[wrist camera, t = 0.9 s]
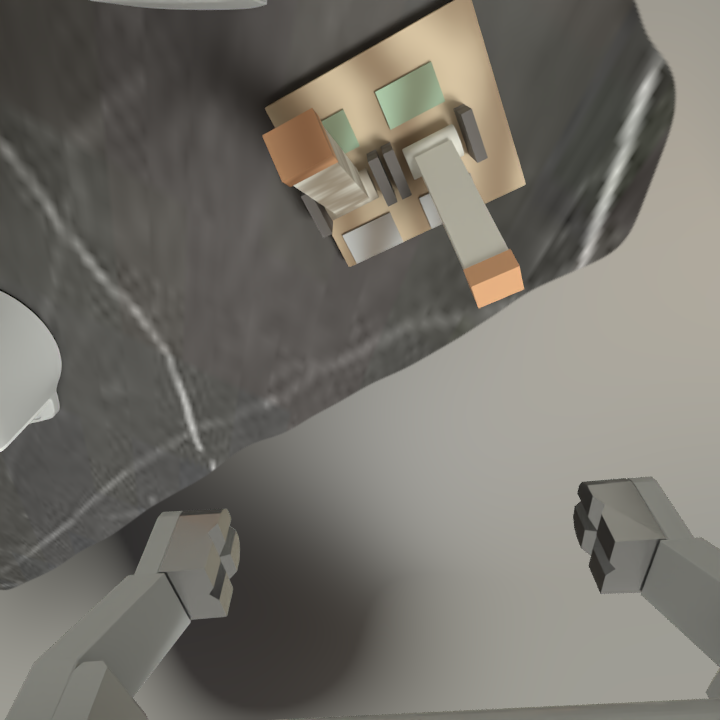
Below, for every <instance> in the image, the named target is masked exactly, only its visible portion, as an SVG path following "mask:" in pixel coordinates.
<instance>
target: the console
mask: <svg viewBox="0 0 720 720" xmlns="http://www.w3.org/2000/svg"><path fill="white" fill-rule="evenodd" d="M265 110H266V112H267V114H268V116H269V117H270V119H271V121H272V123H273V125H274V127H275V129H273V130H271V131H269V132H268V133H266V134H264V135H262V136H263V139H264V141H265V143H266V146H267V148H268V150H269V153H270V155H271V157H272V159H273V162H274V164H275V166H276V169H277V171H278V173H279V176H280V178H281V180H282V182H283V183H285V184H287V185H288V186H290V187H292V186H294V187H296V188H297V189H299V190H300V191H302V194H301V198H302V200H303V202H304V204H305V205H306V207H307V209H308V211H309V213H310V215H311V216H312V218H313V220H314V222H315V224H316V226H317V228H318V229H319V231H320V233H321V235H322V237H323V238H325V237H327V236H329V235H331V234H332V236H333V238H334V240H335V241H336V243H337V245H338V247H339V249H340V251H341V253H342V255H343V256H344V258H345V260H346V262H347V264H348V266H349V267H351V266H353V265H355V264H357V263H360V262H362V261H364V260H366V259H368V258H370V257H372V256H375V255H377V254H379V253H381V252H383V251H385V250H387V249H389V248H392V247H394V246H396V245H398V244H400V243H402V242H404V241H406V240H408V239H411V238H413V237H415V236H417V235H419V234H421V233H423V232H425V231H428V230H430V229H432V228H434V227H436V226H439V225H441V224H443V223H442V221H441V219H440V216H439V214H438V212H437V210H436V207H435V205H434V203H433V201H432V198H431V196H430V194H429V192H428V189H427V187H426V185H425V183H424V180H423V178H422V177H420V178H418V179H416V180H414V178H413V175H412V173H411V171H410V168H409V166H408V163H407V161H406V159H405V156H404V154H403V151H402V149H404V148H406V147H407V146H409V145H411V144H413V143H415V142H417V141H419V140H421V139H423V138H425V137H427V136H429V135H431V134H433V133H435V132H437V131H439V130H441V129H443V128H445V127H447V126H448V125H450V124H453V125H454V127H455V129H456V131H457V134H458V136H459V139H460V141H461V144H462V147H463V151H464V156H462V157H460V158H461V159H462V161H463V163H464V165H465V167H466V169H467V171H468V173H469V175H470V177H471V179H472V181H473V182H474V184H475V186H476V188H477V190H478V192H479V194H480V196H481V198H482V200H483V202H484V204H485V203H487V202H490V201H492V200H494V199H496V198H498V197H500V196H502V195H505V194H507V193H509V192H511V191H513V190H515V189H517V188H519V187H522V186H524V185H526V183H525V180H524V176H523V173H522V170H521V166H520V163H519V159H518V156H517V153H516V149H515V146H514V143H513V139H512V136H511V132H510V129H509V126H508V122H507V119H506V115H505V112H504V109H503V105H502V102H501V98H500V95H499V92H498V88H497V85H496V81H495V78H494V75H493V71H492V68H491V65H490V61H489V58H488V54H487V51H486V48H485V44H484V41H483V37H482V34H481V31H480V27H479V24H478V20H477V17H476V14H475V10H474V7H473V4H472V0H452V1H451V2H449V3H447V4H445V5H444V6H442V7H440V8H438V9H437V10H435V11H433V12H431V13H430V14H428V15H426V16H424V17H423V18H421V19H419V20H417V21H416V22H414V23H412V24H410V25H409V26H407V27H405V28H403V29H401V30H400V31H398V32H396V33H394V34H393V35H391V36H389V37H387V38H386V39H384V40H382V41H380V42H379V43H377V44H375V45H373V46H372V47H370V48H368V49H366V50H365V51H363V52H361V53H359V54H358V55H356V56H354V57H352V58H351V59H349V60H347V61H345V62H344V63H342V64H340V65H338V66H337V67H335V68H333V69H331V70H329V71H328V72H326V73H324V74H322V75H321V76H319V77H317V78H315V79H314V80H312V81H310V82H308V83H307V84H305V85H303V86H301V87H300V88H298V89H296V90H294V91H293V92H291V93H289V94H287V95H286V96H284V97H282V98H280V99H279V100H277V101H275V102H273V103H272V104H270V105H268V106H267V107H266V108H265Z"/></svg>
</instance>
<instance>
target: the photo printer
mask: <svg viewBox="0 0 720 720" xmlns="http://www.w3.org/2000/svg"><path fill="white" fill-rule="evenodd" d="M90 1H97V2H104V3H112V4H120V5H127V6H135V7H144V8H158V9H179V10H232V9H250V8H256V7H260V6H264V5H266V4H267V0H90Z"/></svg>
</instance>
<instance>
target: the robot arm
mask: <svg viewBox="0 0 720 720" xmlns="http://www.w3.org/2000/svg"><path fill="white" fill-rule="evenodd" d="M61 365H62V364H61V356H60V352H59V349H58V346H57V344H56V342H55V340H54V338H53V336H52V334H51V333H50V331H49V330H48V328H47V327H46V326H45V325H44V323H43V322H42V321H41V320H40V319H39V318H38V317H37V316H36V315H35V314H34V313H33V312H32V311H31V310H29V309H28V308H27V307H26V306H24V305H23V304H22V303H20V302H19V301H17V300H16V299H14V298H13V297H11V296H9V295H7V294H5V293H3V292H1V291H0V452H1V451H3V450H4V449H5V448H6V447H7V446H8V445H9V444H10V443H11V442H12V441H13V440H14V439H15V438H16V437H17V436H18V435H19V434H20V433H21V432H22V430H23V429H24V428H25V427H26V426H27V425H28V424H30V423H35V422H39V421H43V420H47V419H51V418H52V417H54V416H55V415H56V414H57V413H58V411H59V409H60V404H59V399H58V395H57V392H56V389H57V384H58V381H59V378H60V374H61ZM578 496H579V498H580V500H581V502H579V503H578V504H577V505H576V506H575V508H574V515H573V519H574V528H575V532H576V536H577V539H578V542H579V544H580V546H581V548H582V549H583V550H584V551H586V552H587V553H588V554H589V555H591V558H590V562H589V568H590V570H591V573H592V575H593V577H594V580H595V582H596V584H597V587H598V589H599V591H600V593H601V594H607V593H608V594H609V593H636V592H637V593H638V592H641V595H642V596H643V597H644V598H645V599H646V600H648V602H649V603H651V604H652V605H653V606H654V607H655V608H656V609H657V610H658V611H659V612H660V613H661V614H663V615H664V616H665V617H666V618H667V619H668V620H669V621H670V622H671V623H672V624H673V625H675V626H676V627H677V628H678V629H679V630H680V631H681V632H682V633H683V634H684V635H685V636H686V637H688V638H689V639H690V640H691V641H692V642H693V643H694V644H695V645H696V646H697V647H699V649H701V650H702V651H703V652H704V653H705V654H706V655H707V656H708V657H709V658H711V660H713V661H714V662H715V663H716V664H717V665H718V666H719V667H720V549H719V548H717V547H715V546H714V545H712V544H711V543H709V542H708V541H706V540H704V539H703V538H694V537H693V535H692V534H691V532H690V531H689V529H688V528H687V526H686V525H685V523H684V522H683V520H682V519H681V517H680V516H679V514H678V512H677V511H676V509H675V508H674V506H673V505H672V503H671V502H670V501H669V499H668V497H667V496H666V494H665V493H664V491H663V490H662V488H661V487H660V485H659V484H658V482H657V481H656V480H655V479H654V478H653V477H640V478H628V479H626V478H621V479H610V480H599V481H587V482H582V483H581V484H580V485H579V488H578ZM230 521H231V516H230V514H229V512H228V509H212V510H211V509H210V510H190V511H173V512H163V513H162V514H161V515H160V516H159V517H158V518H157V520H156V523H155V525H154V528H153V530H152V533H151V535H150V538H149V540H148V542H147V545H146V548H145V550H144V552H143V555H142V557H141V560H140V562H139V565H138V567H137V569H136V572H135V574H134V575H129V576H127V577H126V578H125V579H124V580H123V581H121V582H120V583H119V584H118V585H117V586H116V587H115V588H114V589H113V590H112V591H111V592H110V593H109V594H108V595H106V596H105V597H104V598H103V599H102V600H101V601H100V602H99V603H98V604H97V605H96V606H95V607H93V608H92V609H91V610H90V611H89V612H88V613H87V614H86V615H85V616H84V617H83V618H82V619H80V620H79V621H78V622H77V623H76V624H75V625H74V626H73V627H72V628H71V629H70V630H69V631H67V632H66V633H65V634H64V635H63V636H62V637H61V638H60V639H59V640H58V641H57V642H56V643H55V644H53V645H52V646H51V647H50V648H49V649H48V650H47V651H46V652H45V653H44V654H43V655H42V656H41V657H39V658H38V659H37V660H36V661H35V662H34V664H33V665H32V668H31V669H30V671H29V673H28V675H27V677H26V679H25V681H24V683H23V685H22V687H21V689H20V691H19V693H18V695H17V697H16V699H15V701H14V703H13V705H12V707H11V709H10V711H9V713H8V715H7V717H6V719H5V720H148V718H147V716H146V714H145V712H144V711H143V710H142V709H141V707H140V706H139V705H138V704H137V702H136V701H135V700H134V699H133V697H134V696H135V694H136V693H137V692H138V690H139V689H140V688H141V686H142V685H143V684H144V682H145V681H146V680H147V679H148V677H149V676H150V674H151V673H152V672H153V671H154V669H155V668H156V667H157V665H158V664H159V663H160V661H161V660H162V659H163V658H164V656H165V655H166V654H167V652H168V651H169V650H170V648H171V647H172V646H173V645H174V643H175V642H176V641H177V639H178V638H179V637H180V635H181V634H182V633H183V631H184V630H185V629H186V628H187V626H188V625H189V624H190V620H192V619H204V618H215V617H226V616H227V614H228V609H229V605H230V600H231V596H232V592H233V587H232V585H231V583H230V580H229V579H230V578H231V577H232V576H233V575H234V574H235V573H236V571H237V569H238V564H239V558H240V544H239V537H238V535H237V532H236V530H235V529H233V528H232V527H230ZM706 693H707V695H708V697H709V699H692V700H672V701H671V700H670V701H650V702H630V703H608V704H588V705H567V706H548V707H547V706H546V707H525V708H505V709H486V710H464V711H443V712H423V713H402V714H382V715H362V716H341V717H321V718H300V719H281V720H720V668H719V670H718V671H717V673H716V675H715V677H714V678H713V680H712V681H711V683H710V685H709V687H708V689H707V691H706Z"/></svg>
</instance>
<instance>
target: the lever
mask: <svg viewBox="0 0 720 720" xmlns="http://www.w3.org/2000/svg"><path fill="white" fill-rule="evenodd" d="M402 151H403V154H404V156H405V159H406V161H407V163H408V166H409V168H410V171H411V173H412V175H413V178H414V180H416V179H418V178H420V177H422V178H423V180H424V183H425V185H426V187H427V189H428V192H429V194H430V196H431V198H432V201H433V203H434V205H435V207H436V210H437V212H438V214H439V216H440V219H441V221H442V223H443V225H444V228H445V230H446V232H447V234H448V237H449V239H450V241H451V243H452V245H453V248H454V250H455V252H456V254H457V257H458V259H459V261H460V263H461V266H462V268H463V270H464V273H465V276H466V279H467V281H468V284H469V287H470V289H471V292H472V294H473V297H474V299H475V301H476V303H477V306H478V308H481V307H483V306H485V305H488V304H490V303H492V302H495V301H497V300H500V299H502V298H504V297H507V296H509V295H511V294H514V293H516V292H519V291H521V290H523V289H524V287H523V282H522V277H521V272H520V266H519V264H518V262H517V261H516V259H515V257H514V255H513V253H512V251H511V249H509V250H508V248H507V246H506V244H505V242H504V240H503V238H502V236H501V234H500V232H499V230H498V229H497V227H496V225H495V223H494V221H493V219H492V217H491V215H490V213H489V211H488V209H487V207H486V206H485V204H484V202H483V200H482V198H481V196H480V194H479V192H478V190H477V188H476V186H475V184H474V182H473V181H472V179H471V177H470V175H469V173H468V171H467V169H466V167H465V165H464V163H463V161H462V159H461V158H460V157H462V156H464V151H463V147H462V144H461V141H460V139H459V136H458V134H457V131H456V129H455V127H454V125H453V124H450V125H448V126H447V127H445V128H443V129H441V130H439V131H437V132H435V133H433V134H431V135H429V136H427V137H425V138H423V139H421V140H419V141H417V142H415V143H413V144H411V145H409V146H407V147H406V148H404V149H402Z"/></svg>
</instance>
